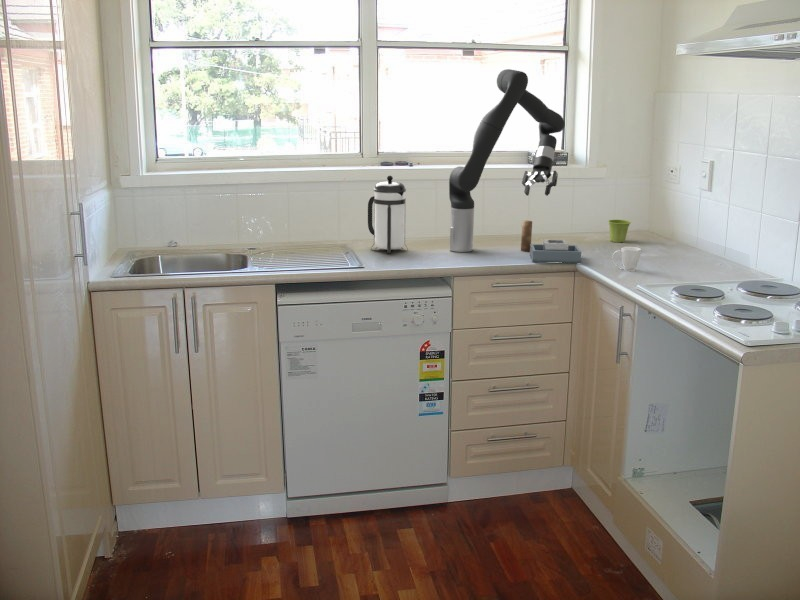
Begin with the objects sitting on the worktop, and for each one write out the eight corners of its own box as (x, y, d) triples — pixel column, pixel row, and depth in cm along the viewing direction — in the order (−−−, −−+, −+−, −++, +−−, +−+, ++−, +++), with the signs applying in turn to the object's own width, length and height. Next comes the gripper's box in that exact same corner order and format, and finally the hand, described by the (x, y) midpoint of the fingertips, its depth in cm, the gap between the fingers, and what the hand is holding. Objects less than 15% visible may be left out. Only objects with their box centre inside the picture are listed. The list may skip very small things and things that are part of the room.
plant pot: (630, 240, 344) (632, 220, 342) (627, 244, 336) (629, 224, 333) (608, 238, 348) (609, 218, 345) (605, 242, 339) (606, 222, 337)
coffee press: (409, 246, 326) (410, 173, 319) (406, 254, 311) (407, 178, 303) (368, 245, 328) (367, 172, 320) (362, 253, 313) (362, 177, 305)
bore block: (544, 259, 301) (545, 243, 300) (542, 254, 309) (543, 239, 308) (567, 259, 300) (568, 244, 299) (564, 254, 309) (565, 239, 307)
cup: (639, 272, 285) (641, 250, 283) (611, 271, 287) (612, 249, 285) (639, 268, 292) (641, 247, 289) (611, 266, 294) (612, 245, 292)
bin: (532, 262, 300) (533, 250, 299) (529, 255, 312) (530, 244, 311) (580, 263, 298) (581, 252, 297) (576, 256, 311) (576, 245, 310)
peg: (521, 251, 319) (522, 222, 316) (520, 249, 323) (521, 220, 320) (531, 251, 319) (532, 222, 316) (530, 249, 323) (531, 220, 320)
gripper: (525, 155, 329) (517, 190, 324) (557, 154, 321) (550, 190, 317) (531, 164, 335) (523, 198, 330) (563, 163, 327) (555, 199, 323)
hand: (536, 194), depth 324 cm, fingers open, 8 cm apart
